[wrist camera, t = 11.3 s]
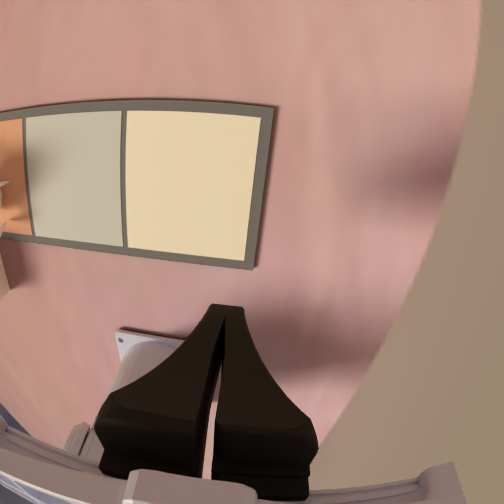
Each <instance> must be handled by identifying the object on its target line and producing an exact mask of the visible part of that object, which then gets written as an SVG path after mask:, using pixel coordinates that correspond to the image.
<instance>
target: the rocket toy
mask: <svg viewBox="0 0 504 504" xmlns="http://www.w3.org/2000/svg"><path fill="white" fill-rule="evenodd" d="M9 182H10V181H3V182H0V187H1V186H3V185H5V184H7V183H9ZM1 204H2V192H1V189H0V208H1ZM6 224H7V221H6V222H5V223H4V224H3V225H2V226H1V227H0V236H1V234H2V232H3V230H4V228H5V226H6Z"/></svg>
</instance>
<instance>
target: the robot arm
mask: <svg viewBox="0 0 504 504" xmlns="http://www.w3.org/2000/svg"><path fill="white" fill-rule="evenodd" d="M115 337H116V342H117V347H118V351H119V356H120V360H121V364H120V366H119V368H118V371H117V373H116V375H115V377H114V380H113V382H112V384H111V387H110V389H109V391H108V394H107V396H106V398H105V401H104V403H103V405H102V407H101V409H100V411H99V413H98V415H97V416H96V418H95V420H94V423H93V425H92V428H91V429H90V425H89V424H87V423H85V422H83V423H82V424H79V425H75V426H74V427H73V429H72V431H71V433H70V435H69V437H68V439H67V441H66V443H65V446H64V448H63V450H62V449H60V448H57V447H54V446H52V445H50V444H47V443H45V442H42V441H40V440H38V439H35V438H33V437H31V436H29V435H26V434H24V433H22V432H20V431H18V430H16V429H14V428H12V427H10V426H8V425H7V423H6V421H5V420H4V418H2V416H1V415H0V484H2V485H3V486H5V487H6V488H8V489H10V490H11V491H13V492H15V493H16V494H18V495H20V496H22V497H23V498H25V499H27V500H29V501H31V502H32V503H35V504H466V501H465V497H464V494H463V490H462V487H461V484H460V481H459V478H458V475H457V472H456V469H455V466H454V463H453V462H449V463H446V464H442V465H438V466H433V467H431V468H428V469H426V470H425V471H423V472H422V473H421V474H420V475H419V476H418V477H416V478H412V479H407V480H401V481H396V482H390V483H384V484H377V485H369V486H361V487H352V488H341V489H328V490H309V483H308V477H309V476H310V466H309V465H310V463H311V462H312V460H313V459H314V457H315V456H316V454H317V452H318V449H319V448H318V440H317V436H316V433H315V430H314V427H313V424H312V422H311V419H310V418H309V417H308V416H307V415H305V414H304V413H303V412H302V411H301V410H300V409H299V408H298V407H297V406H296V405H295V404H294V403H293V402H292V401H291V400H290V399H289V398H288V397H287V396H286V394H285V393H284V392H283V391H282V389H281V388H280V387H279V386H278V384H277V383H276V382H275V381H274V379H273V378H272V376H271V375H270V373H269V372H268V370H267V368H266V367H265V365H264V363H263V362H262V360H261V358H260V356H259V354H258V352H257V350H256V347H255V345H254V343H253V340H252V338H251V335H250V332H249V330H248V326H247V323H246V319H245V313H244V309H243V308H242V307H238V306H229V305H220V304H211V305H210V306H209V308H208V310H207V312H206V313H205V315H204V316H203V318H202V319H201V321H200V322H199V324H198V325H197V326H196V327H195V329H194V330H193V331H192V333H191V334H190V335H189V336H188V337H187V338H186V339H185V340H179V339H173V338H166V337H160V336H154V335H148V334H142V333H137V332H131V331H126V330H120V329H119V330H117V331H116V333H115ZM120 338H121V339H120ZM122 339H123V340H122ZM221 362H222V366H221ZM220 367H221V386H220V392H219V399H218V405H217V411H216V417H215V428H214V449H213V460H212V469H211V472H212V474H211V480H209V479H203V478H202V472H203V463H204V454H205V446H206V438H207V430H208V422H209V414H210V408H211V403H212V399H213V395H214V391H215V387H216V383H217V379H218V375H219V371H220Z"/></svg>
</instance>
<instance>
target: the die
mask: <svg viewBox="0 0 504 504" xmlns="http://www.w3.org/2000/svg"><path fill="white" fill-rule="evenodd" d="M9 291H10V287H9V284H8V281H7V277H6V273H5V270H4V266H3V262H2V258H1V254H0V300H1V299H2V298H3V297H4V296H5V295H6V294H7V293H8V292H9Z"/></svg>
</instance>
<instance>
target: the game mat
mask: <svg viewBox="0 0 504 504" xmlns="http://www.w3.org/2000/svg"><path fill="white" fill-rule="evenodd" d="M273 112H274V108H271V107H263V106H254V105H244V104H233V103H221V102H206V101H185V100H116V101H95V102H81V103H69V104H59V105H50V106H42V107H34V108H27V109H21V110H15V111H9V112H3V113H0V182H3V181H10V182H9V183H7V184H5V185H3V186H1V187H0V189H1V192H2V204H1V208H0V227H1V226H2V225H3V224H4V223H5V222H6V221H7V224H6V226H5V228H4V230H3V232H2V234H1V236H0V238H4V239H11V240H18V241H25V242H32V243H39V244H46V245H53V246H60V247H68V248H75V249H82V250H90V251H97V252H105V253H113V254H120V255H128V256H136V257H144V258H152V259H160V260H168V261H176V262H185V263H193V264H201V265H210V266H219V267H227V268H236V269H245V270H253V267H254V260H255V252H256V244H257V237H258V229H259V221H260V214H261V206H262V198H263V191H264V183H265V175H266V167H267V159H268V152H269V144H270V136H271V128H272V120H273Z"/></svg>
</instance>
